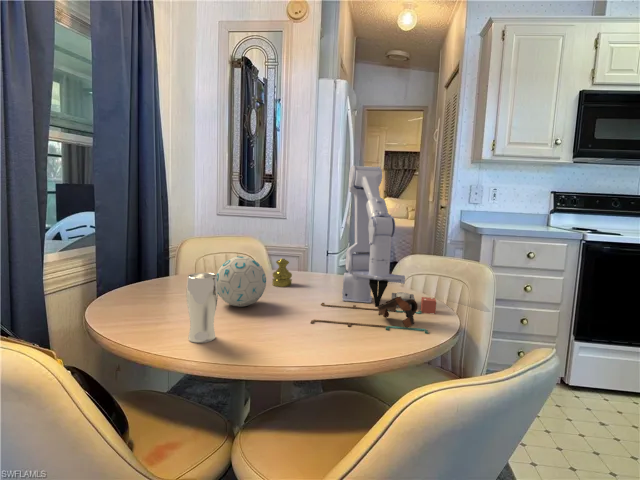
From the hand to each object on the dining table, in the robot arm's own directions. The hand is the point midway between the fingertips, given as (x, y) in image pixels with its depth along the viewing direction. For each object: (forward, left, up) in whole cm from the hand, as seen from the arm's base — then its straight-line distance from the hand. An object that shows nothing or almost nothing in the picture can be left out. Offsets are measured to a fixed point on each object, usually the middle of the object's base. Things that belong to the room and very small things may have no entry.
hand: (377, 306), depth 117 cm
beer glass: (-40, -28, -4) cm, 49 cm away
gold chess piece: (-36, +32, -4) cm, 48 cm away
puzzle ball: (-41, +1, -4) cm, 41 cm away
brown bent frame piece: (+6, -3, -4) cm, 8 cm away
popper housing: (+8, +16, -3) cm, 18 cm away
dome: (+8, +16, -3) cm, 18 cm away
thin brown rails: (-2, 0, -3) cm, 4 cm away
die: (+16, +11, -3) cm, 19 cm away
